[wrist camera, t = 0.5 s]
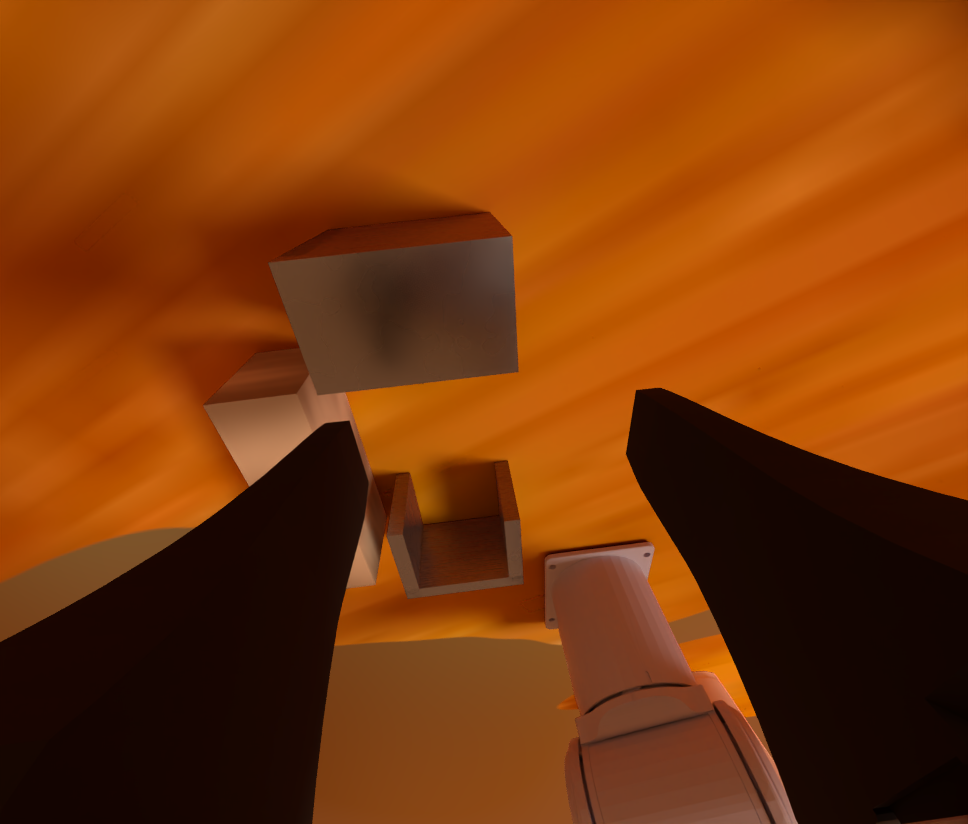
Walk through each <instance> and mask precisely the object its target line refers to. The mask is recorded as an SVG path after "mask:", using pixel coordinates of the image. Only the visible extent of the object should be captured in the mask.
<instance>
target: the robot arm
mask: <svg viewBox="0 0 968 824" xmlns="http://www.w3.org/2000/svg"><path fill="white" fill-rule="evenodd" d="M626 455H627V458H628V460H629V463H630V465H631V468H632V470H633V472H634V475H635V477H636V479H637V481H638V484H639V486H640V488H641V489H642V491H643V493H644V495H645V496H646V498H647V500H648V501H649V503H650V505H651V506H652V508H653V510H654V511H655V513H656V514H657V516H658V518H659V519H660V521H661V523H662V524H663V526H664V527H665V529H666V531H667V532H668V534H669V536H670V537H671V539H672V540H673V542H674V544H675V545H676V547H677V549H678V550H679V552H680V553H681V555H682V557H683V558H684V560H685V562H686V563H687V565H688V567H689V569H690V571H691V572H692V574H693V576H694V578H695V579H696V581H697V583H698V586H699V588H700V590H701V592H702V594H703V596H704V598H705V600H706V602H707V604H708V606H709V608H710V610H711V613H712V615H713V617H714V619H715V621H716V623H717V625H718V627H719V629H720V632H721V634H722V636H723V639H724V641H725V643H726V645H727V647H728V650H729V652H730V654H731V656H732V659H733V661H734V663H735V665H736V668H737V670H738V672H739V675H740V677H741V680H742V682H743V684H744V687H745V689H746V692H747V694H748V696H749V699H750V701H751V704H752V706H753V708H754V711H755V713H756V716H757V718H758V720H759V723H760V725H761V728H762V731H763V733H764V736H765V738H766V741H767V744H768V746H769V749H770V751H771V754H772V757H773V759H774V762H775V765H776V767H777V770H778V772H779V775H780V778H781V780H782V783H783V786H784V788H785V790H784V788H783V786H782V784H781V782H780V780H779V778H778V776H777V774H776V772H775V770H774V768H773V766H772V764H771V763H770V761H769V759H768V757H767V755H766V753H765V752H764V750H763V748H762V746H761V744H760V743H759V741H758V739H757V738H756V736H755V734H754V733H753V731H752V729H751V728H750V726H749V725H748V723H747V721H746V720H745V719H744V717H743V716H742V715H741V713H740V712H739V711H738V710H736V709H734V708H733V707H731V706H729V705H727V703H726V702H725V701H723V700H718V701H714V702H713V703H711V701H710V699H709V697H708V695H707V693H706V691H705V689H704V687H703V685H701V684H699V685H698V684H697V682H696V680H695V678H694V676H693V674H692V672H691V670H690V668H689V666H688V664H687V662H686V659H685V657H684V655H683V653H682V651H681V649H680V647H679V645H678V643H677V641H676V639H675V637H674V635H673V633H672V631H671V629H670V626H669V624H668V622H667V620H666V618H665V616H664V614H663V612H662V610H661V608H660V606H659V604H658V602H657V600H656V598H655V595H654V593H653V591H652V589H651V587H650V585H649V583H648V581H647V579H648V575H649V570H650V566H651V562H652V557H653V553H654V546H653V544H652V543H650V542H643V543H635V544H627V545H620V546H612V547H604V548H596V549H588V550H581V551H573V552H565V553H557V554H550V555H548V556H546V557H545V625H546V628H548V629H557V628H558V629H559V633H560V637H561V641H562V646H563V650H564V653H565V658H566V662H567V666H568V670H569V675H570V679H571V682H572V687H573V691H574V695H575V699H576V702H577V705H578V708H579V710H580V714H581V716H580V717H577V718H576V719H575V722H576V726H577V730H578V734H579V737H577V738H573V739H571V741H570V743H569V747H568V751H567V753H566V756H565V779H566V787H567V794H568V800H569V805H570V810H571V815H572V820H573V824H968V500H964V499H960V498H957V497H953V496H949V495H945V494H941V493H937V492H934V491H930V490H927V489H923V488H920V487H916V486H913V485H909V484H906V483H902V482H899V481H895V480H892V479H888V478H885V477H882V476H878V475H875V474H872V473H869V472H865V471H862V470H859V469H856V468H853V467H850V466H847V465H845V464H842V463H839V462H836V461H833V460H830V459H827V458H824V457H821V456H819V455H816V454H813V453H810V452H808V451H805V450H802V449H800V448H797V447H795V446H792V445H790V444H787V443H785V442H783V441H780V440H778V439H775V438H773V437H770V436H768V435H765V434H763V433H761V432H759V431H756V430H754V429H752V428H749V427H747V426H745V425H743V424H740V423H738V422H736V421H734V420H732V419H730V418H727V417H725V416H723V415H721V414H719V413H717V412H714V411H712V410H710V409H708V408H706V407H704V406H702V405H700V404H697V403H695V402H693V401H691V400H689V399H687V398H684V397H682V396H680V395H678V394H675V393H673V392H670V391H668V390H665V389H662V388H652V389H643V390H636V393H635V400H634V406H633V413H632V419H631V425H630V432H629V438H628V444H627V451H626ZM368 486H369V481H368V478H367V475H366V471H365V468H364V465H363V462H362V459H361V455H360V452H359V449H358V446H357V443H356V439H355V436H354V433H353V430H352V427H351V423H350V420H349V421H339V422H330V423H324V424H323V425H322V426H320V427H319V428H318V429H316V430H315V431H314V432H313V433H312V434H310V435H309V436H308V437H307V438H306V439H305V440H303V441H302V442H301V443H300V444H299V445H298V446H297V447H296V448H294V449H293V450H292V451H291V452H290V453H289V454H288V455H286V456H285V457H284V458H283V459H282V460H281V461H279V462H278V463H277V464H276V465H275V466H274V467H273V468H271V469H270V470H269V471H268V472H267V473H266V474H264V475H263V476H262V477H261V478H260V479H258V480H257V481H256V482H255V483H253V484H252V485H251V486H250V487H248V488H247V489H246V490H245V491H243V492H242V493H241V494H240V495H238V496H237V497H236V498H235V499H233V500H232V501H231V502H230V503H228V504H227V505H226V506H225V507H223V508H222V509H221V510H219V511H218V512H217V513H215V514H214V515H213V516H211V517H210V518H208V519H207V520H206V521H204V522H203V523H202V524H200V525H199V526H197V527H196V528H194V529H193V530H191V531H190V532H188V533H187V534H186V535H184V536H183V537H181V538H180V539H178V540H177V541H175V542H174V543H172V544H171V545H169V546H168V547H166V548H165V549H163V550H162V551H160V552H158V553H157V554H155V555H154V556H152V557H150V558H149V559H147V560H145V561H144V562H142V563H140V564H139V565H137V566H136V567H134V568H132V569H131V570H129V571H127V572H126V573H124V574H122V575H121V576H119V577H118V578H116V579H114V580H113V581H111V582H109V583H108V584H107V585H105V586H103V587H101V588H99V589H98V590H96V591H94V592H92V593H91V594H89V595H87V596H85V597H83V598H82V599H80V600H78V601H76V602H74V603H73V604H71V605H69V606H67V607H66V608H64V609H62V610H60V611H58V612H57V613H55V614H53V615H51V616H49V617H47V618H45V619H43V620H41V621H40V622H38V623H36V624H34V625H32V626H30V627H28V628H26V629H25V630H23V631H21V632H19V633H17V634H16V635H13V636H11V637H9V638H7V639H5V640H3V641H2V642H0V824H312V819H313V807H314V797H315V787H316V778H317V777H316V776H317V769H318V761H319V752H320V743H321V735H322V726H323V718H324V711H325V704H326V697H327V689H328V683H329V675H330V668H331V662H332V656H333V649H334V644H335V637H336V631H337V625H338V620H339V616H340V611H341V607H342V602H343V598H344V595H345V591H346V587H347V583H348V580H349V576H350V572H351V568H352V565H353V561H354V557H355V553H356V550H357V546H358V542H359V538H360V534H361V531H362V527H363V523H364V518H365V512H366V504H367V496H368ZM785 791H786V792H785Z"/></svg>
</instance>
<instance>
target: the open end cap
mask: <svg viewBox="0 0 968 824" xmlns="http://www.w3.org/2000/svg"><path fill="white" fill-rule="evenodd" d="M495 472H496V483H497V493H498V503H499V514H500V516H492V517H484V518H476V519H468V520H460V521H452V522H444V523H436V524H428V525H423V522H422V518H421V514H420V510H419V507H418V503H417V499H416V495H415V491H414V487H413V483H412V479H411V475H410V473H404V474H397V475H396V481H395V487H394V494H393V500H392V506H391V512H390V519H389V525H388V531H387V539H388V542H389V545H390V548H391V551H392V554H393V557H394V560H395V563H396V566H397V569H398V572H399V574H400V577H401V580H402V583H403V586H404V589H405V592H406V595H407V598H408V599H411V598H419V597H426V596H434V595H442V594H450V593H457V592H465V591H473V590H481V589H488V588H496V587H504V586H512V585H519V584H524V582H523V564H522V546H521V528H520V517H519V512H518V507H517V503H516V498H515V493H514V488H513V483H512V479H511V474H510V469H509V464H508V461H502V462H495Z"/></svg>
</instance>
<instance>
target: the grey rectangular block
mask: <svg viewBox="0 0 968 824" xmlns="http://www.w3.org/2000/svg"><path fill="white" fill-rule="evenodd" d="M268 264H269V267H270V269H271V272H272V275H273V278H274V280H275V283H276V286H277V288H278V291H279V294H280V296H281V299H282V302H283V304H284V307H285V310H286V312H287V315H288V318H289V320H290V323H291V326H292V329H293V331H294V334H295V337H296V339H297V342H298V345H299V347H300V350H301V353H302V355H303V358H304V361H305V363H306V366H307V369H308V372H309V374H310V377H311V380H312V382H313V385H314V388H315V390H316V393H317V395H326V394H334V393H343V392H351V391H360V390H368V389H377V388H385V387H394V386H402V385H411V384H419V383H428V382H436V381H445V380H454V379H462V378H471V377H479V376H488V375H496V374H505V373H513V372H518V354H517V332H516V310H515V287H514V265H513V243H512V235H511V234H510V233H509V232H508V231H507V230H506V229H505V228H504V227H503V226H502V225H501V223H500V222H499V221H498V220H497V219H496V218H495V217H494V216H493V215H492V214H491V213H490V212H488V213H479V214H469V215H460V216H451V217H442V218H432V219H423V220H414V221H405V222H395V223H386V224H377V225H368V226H358V227H349V228H340V229H331V230H327V231H325V232H323V233H321V234H319V235H318V236H316V237H314V238H312V239H310V240H309V241H307V242H305V243H303V244H301V245H299V246H298V247H296V248H294V249H292V250H290V251H288V252H287V253H285V254H283V255H281V256H279V257H277V258H276V259H274V260H272V261H270V262H268Z"/></svg>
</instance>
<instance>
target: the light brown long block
mask: <svg viewBox="0 0 968 824" xmlns="http://www.w3.org/2000/svg"><path fill="white" fill-rule="evenodd" d="M203 407H204V408H205V410H206V412H207V414H208V415H209V417H210V419H211V421H212V422H213V424H214V426H215V428H216V429H217V431H218V433H219V434H220V436H221V438H222V440H223V441H224V443H225V445H226V447H227V448H228V450H229V452H230V454H231V455H232V457H233V459H234V461H235V462H236V464H237V466H238V468H239V469H240V471H241V473H242V474H243V476H244V478H245V480H246V481H247V483H248V485H249V487H250V486H251V485H252V484H253V483H255V482H256V481H257V480H258V479H260V478H261V477H262V476H263V475H264V474H266V473H267V472H268V471H269V470H270V469H271V468H273V467H274V466H275V465H276V464H277V463H278V462H279V461H281V460H282V459H283V458H284V457H285V456H286V455H288V454H289V453H290V452H291V451H292V450H293V449H294V448H296V447H297V446H298V445H299V444H300V443H301V442H302V441H303V440H305V439H306V438H307V437H308V436H309V435H310V434H312V433H313V432H314V431H315V430H316V429H318V428H319V427H320V426H322V425H323V424H324V423H330V422H339V421H349V420H350V423H351V427H352V430H353V433H354V436H355V439H356V443H357V446H358V449H359V452H360V455H361V459H362V462H363V465H364V468H365V471H366V475H367V478H368V481H369V486H368V496H367V504H366V512H365V518H364V523H363V527H362V531H361V534H360V538H359V542H358V546H357V550H356V553H355V557H354V561H353V565H352V568H351V572H350V576H349V580H348V583H347V587H346V589H347V588H355V587H362V586H370V585H376V579H377V573H378V567H379V561H380V555H381V549H382V543H383V537H384V531H385V525H386V519H387V516H386V513H385V510H384V507H383V504H382V501H381V498H380V495H379V492H378V489H377V486H376V483H375V480H374V477H373V474H372V471H371V468H370V465H369V462H368V459H367V456H366V453H365V450H364V447H363V444H362V441H361V438H360V435H359V432H358V429H357V426H356V423H355V420H354V417H353V414H352V411H351V408H350V405H349V402H348V399H347V396H346V393H345V392H343V393H334V394H326V395H317V393H316V390H315V388H314V385H313V382H312V380H311V377H310V374H309V372H308V369H307V366H306V363H305V361H304V358H303V355H302V353H301V350H300V348H294V349H286V350H277V351H269V352H261V353H255V354H254V355H253V356H252V357H251V358H250V359H249V360H248V361H247V362H246V363H245V364H244V365H243V366H242V367H241V368H240V369H239V370H238V371H237V372H236V373H235V374H234V375H233V376H232V377H231V378H230V379H229V380H228V381H227V382H226V383H225V384H224V385H223V386H222V387H221V388H220V389H219V390H218V391H217V392H216V393H215V394H214V395H213V396H212V397H211V398H210V399H209V400H208V401H207V402H206V403H205V404H204V405H203Z"/></svg>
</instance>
